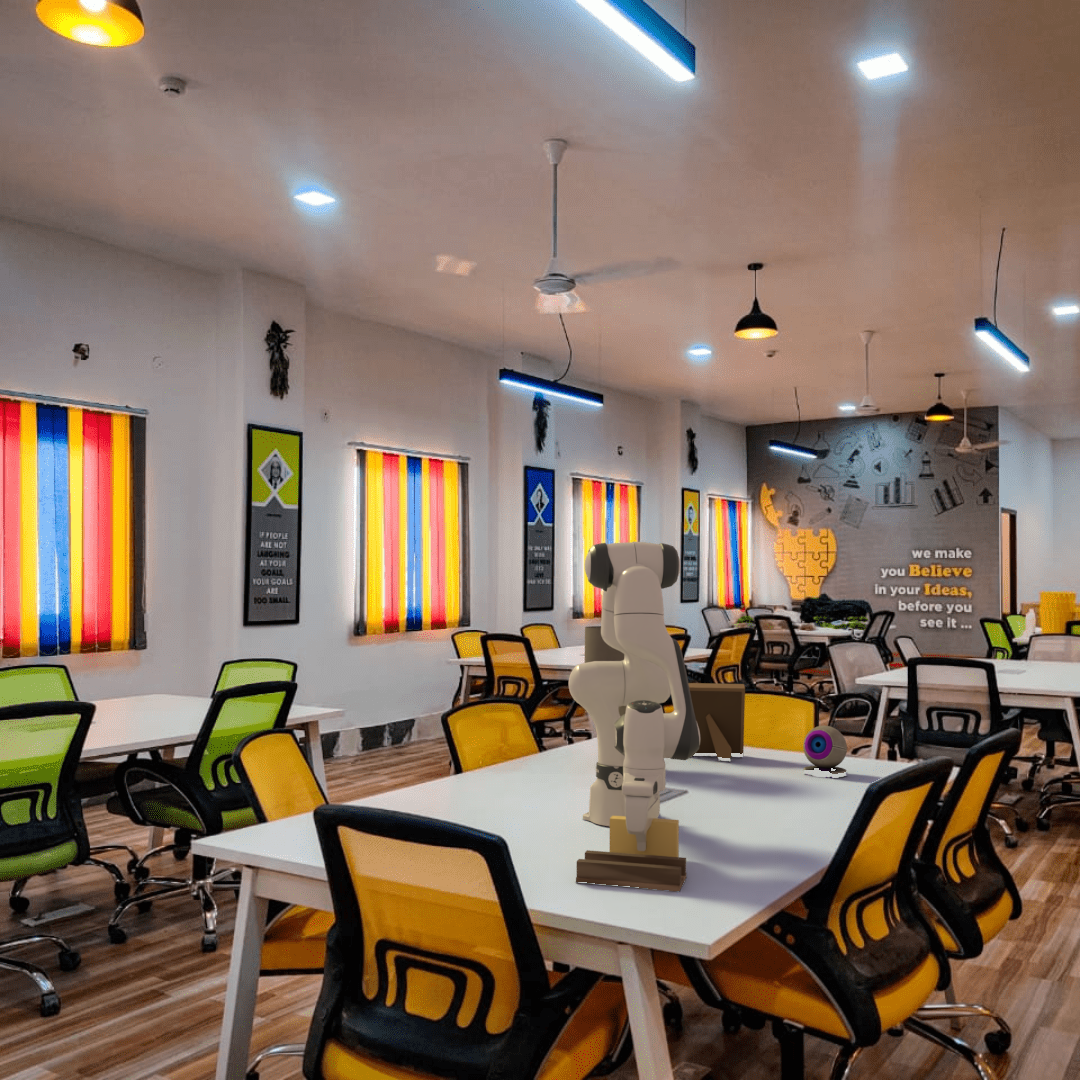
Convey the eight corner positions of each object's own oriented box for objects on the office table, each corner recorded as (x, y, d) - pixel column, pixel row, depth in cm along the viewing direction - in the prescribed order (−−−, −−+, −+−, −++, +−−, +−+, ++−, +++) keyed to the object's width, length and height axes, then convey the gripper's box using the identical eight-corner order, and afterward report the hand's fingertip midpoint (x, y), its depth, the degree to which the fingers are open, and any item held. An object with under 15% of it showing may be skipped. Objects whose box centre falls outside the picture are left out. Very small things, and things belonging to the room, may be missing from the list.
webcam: (796, 774, 322) (796, 725, 322) (815, 769, 331) (814, 722, 332) (836, 780, 313) (835, 729, 314) (854, 774, 323) (853, 725, 324)
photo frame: (677, 754, 360) (678, 681, 361) (742, 755, 358) (742, 682, 358) (679, 761, 345) (679, 685, 346) (746, 763, 343) (746, 687, 344)
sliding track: (587, 869, 211) (587, 849, 211) (686, 877, 206) (686, 857, 206) (575, 883, 202) (575, 862, 202) (679, 891, 196) (679, 870, 197)
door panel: (612, 858, 221) (612, 815, 221) (678, 863, 217) (678, 819, 217) (609, 862, 218) (609, 818, 218) (676, 867, 214) (676, 822, 214)
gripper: (638, 770, 229) (637, 834, 228) (620, 788, 209) (619, 858, 209) (666, 772, 227) (666, 836, 227) (651, 789, 208) (651, 860, 207)
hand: (644, 847), depth 217 cm, fingers open, 4 cm apart
